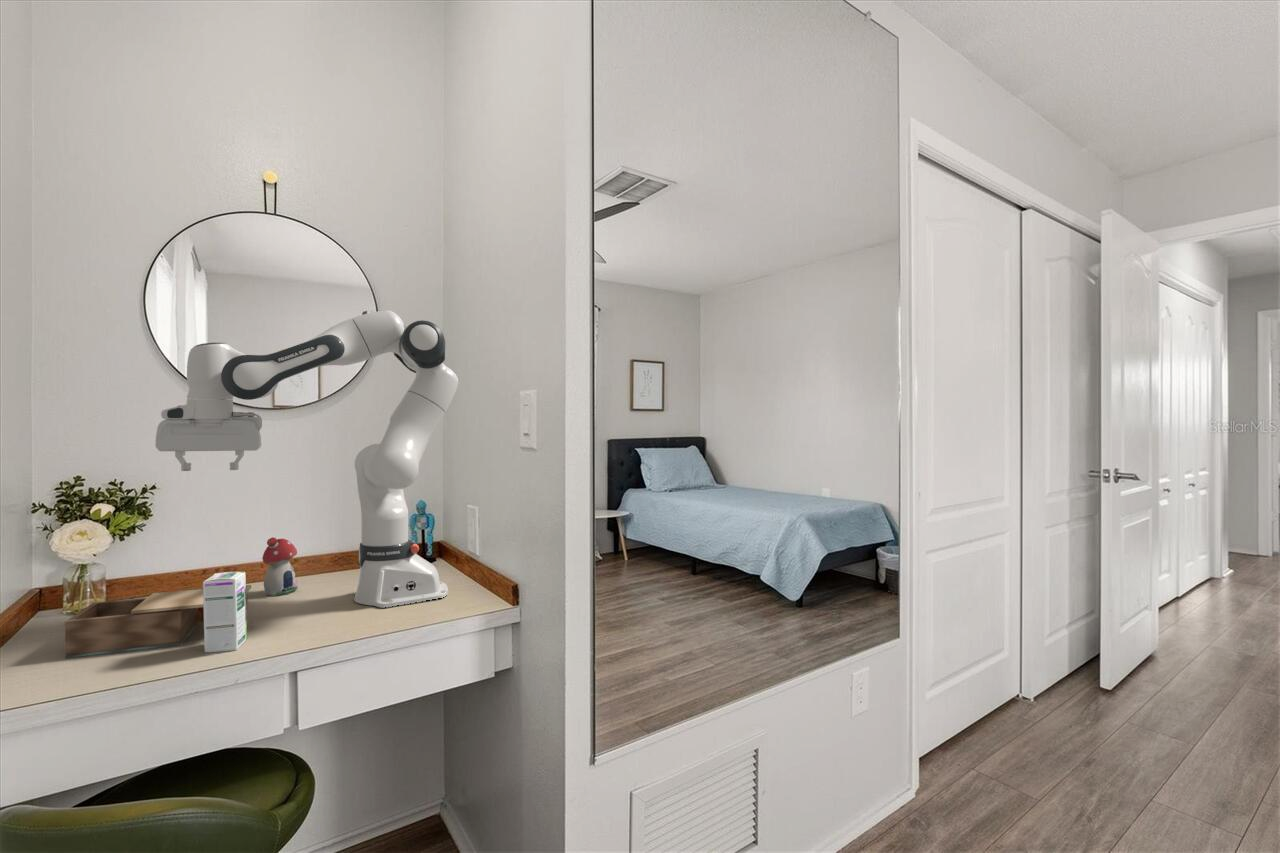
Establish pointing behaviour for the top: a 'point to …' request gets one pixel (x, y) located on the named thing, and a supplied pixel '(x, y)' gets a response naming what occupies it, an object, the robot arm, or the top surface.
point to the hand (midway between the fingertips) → (210, 470)
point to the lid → (173, 601)
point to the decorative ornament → (279, 567)
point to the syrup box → (224, 611)
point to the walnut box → (125, 628)
